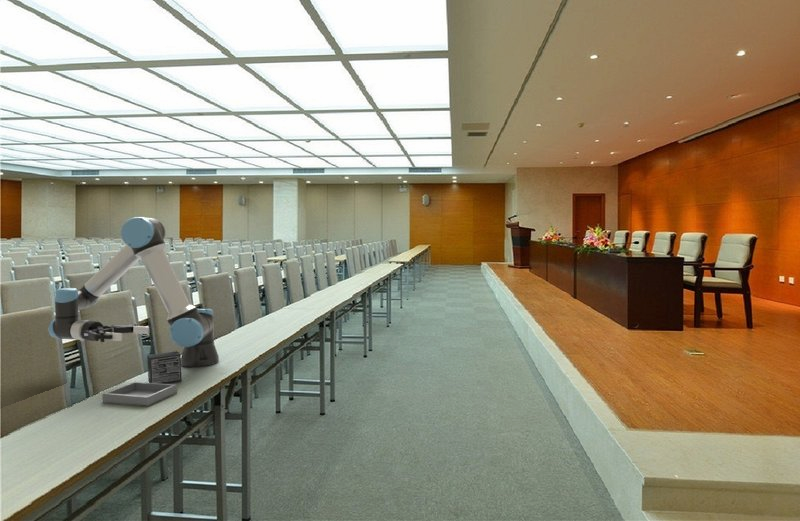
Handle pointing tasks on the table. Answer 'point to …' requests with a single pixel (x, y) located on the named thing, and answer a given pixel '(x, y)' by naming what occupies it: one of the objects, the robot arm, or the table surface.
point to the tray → (140, 394)
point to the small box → (164, 368)
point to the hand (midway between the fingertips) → (135, 333)
